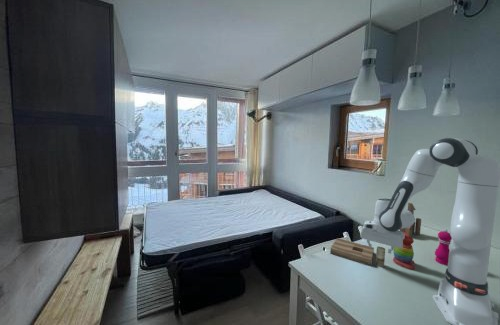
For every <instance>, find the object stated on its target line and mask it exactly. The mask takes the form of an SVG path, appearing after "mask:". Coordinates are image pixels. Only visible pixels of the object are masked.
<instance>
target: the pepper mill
mask: <svg viewBox="0 0 500 325" xmlns="http://www.w3.org/2000/svg"><path fill="white" fill-rule="evenodd" d="M437 237H438V242H439V244H438V247H437V248H436V249H435V251H434V255H435V259H434V260H435V261H436V262H437V263H438V264H441V265H443V266H448V259H449V251H450V245H451V240H452V237H451V235H450V232H448V229H445V228H444V229H443V230H442V231H439V232H438V233H437Z"/></svg>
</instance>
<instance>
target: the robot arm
mask: <svg viewBox="0 0 500 325" xmlns="http://www.w3.org/2000/svg"><path fill="white" fill-rule="evenodd" d="M478 153H479V148H478V147H477V146H476V144H475V143H473V142H472V141H469V140H466V139H463V138H457V137H454V138H452V137H444V138H441V139H437V140H436V141H434V142H433V143H432V144H431V145H430V148H421V149H418V150H416V151H415V152H414V153H413V155H412V156H411V159H410V160H409V162H408V164H407V166H406V169H405V172H404V174H403V176H402V178H401V180H400V182H399V183H398V186H397V187H396V189H395V190H394V193H393V194H392V196H391V198H379V199H377V200H376V201H375V205H374V212H373V213H374V217H373V220H365V221H364V222H363V226H362V227H361V231H360V238H361V239H363V240H366V243H367V244H368V245H367V246H368V247H369V248H371V247H373V245H372V243H371V242H374V243H377V244H380V245H381V244H382V245H386V246H389V247H390V248H388V250H387V253H388V254H391V255H392V252H393V250H394V247H396V248H400V249H401V248H403V239H404V238H405V234H404V233H403V232H402V231H400V229H403V228H406V227H410V226H412V225H413V224H414V222H415V223H416V218H415V216H414V215H415V214H414V215H413V214H412V213H411V212H410V211H409V210H408V208H407V209H406V206H407V205H408V203H409V200H410V199H411V198H412V197H413V196H415V195H416V194H418V193H420V192H423V191H425V190H427V188H429V187H430V185H431V184H432V183H433V182H434V179H435V177H436V175H437V172H438V170H439V168H440V167H441V166H443V165H446V166H448V167H453V168H456V169H457V170H458V176H457V183H456V184H457V186H456V192H455V200H454V204H453V209H452V213H451V219H450V224H449V225H450V226H449V233H450V235H451V237H452V240H450V245H449V250H450V251H449V259H448V265H447V268H446V269H445V274H444V279H443V280H440V281H439V285H438V293H437V294H432V300H433V301H434V302H435V305H436V306H437V307H438V309H439V311H440V312H441V314H442V316H443V317H444V319H445V320H446V322H447V323H449V324H450V325H499V322H498V321H499V317H500V316H499V313H498V312H496V311H493V310H492V308H495V304H494V303H493V302H491V295H490V294H489V283H488V281H487V280H488V274H489V273H488V272H489V263H490V254H491V247H492V238H493V232H494V230H493V229H494V222H495V217H496V210H497V203H498V198H499V190H500V164H499V162H498V159H496V158H493V157H491V156H487V155H480V154H478Z"/></svg>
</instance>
